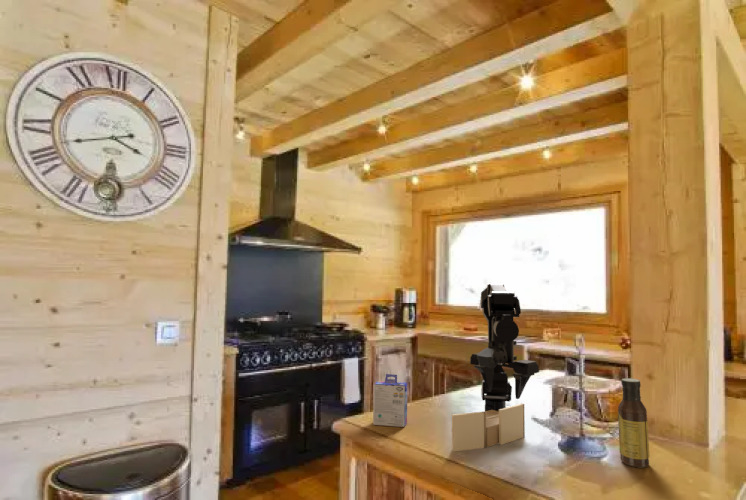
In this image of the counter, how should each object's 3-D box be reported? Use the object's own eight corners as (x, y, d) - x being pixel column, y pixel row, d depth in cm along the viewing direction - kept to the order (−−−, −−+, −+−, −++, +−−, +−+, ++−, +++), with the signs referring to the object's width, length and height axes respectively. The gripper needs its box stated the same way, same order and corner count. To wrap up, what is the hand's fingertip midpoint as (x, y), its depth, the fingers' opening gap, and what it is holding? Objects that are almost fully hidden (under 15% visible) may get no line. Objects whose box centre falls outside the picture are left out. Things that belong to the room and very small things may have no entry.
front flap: (451, 450, 117) (451, 414, 117) (484, 446, 120) (484, 411, 120) (453, 451, 116) (453, 415, 116) (486, 447, 119) (486, 412, 119)
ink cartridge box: (407, 422, 140) (408, 374, 141) (405, 427, 134) (405, 378, 135) (376, 420, 142) (376, 372, 143) (372, 425, 136) (373, 376, 137)
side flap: (522, 435, 128) (521, 403, 129) (525, 436, 128) (525, 404, 128) (498, 443, 122) (498, 409, 122) (501, 444, 121) (501, 410, 122)
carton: (491, 426, 136) (491, 408, 137) (520, 435, 128) (520, 416, 129) (458, 436, 127) (458, 417, 128) (487, 446, 119) (487, 426, 120)
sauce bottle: (630, 456, 114) (628, 375, 115) (655, 466, 108) (652, 380, 109) (613, 460, 111) (611, 378, 112) (638, 470, 105) (635, 383, 107)
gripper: (456, 335, 127) (457, 392, 126) (513, 343, 112) (514, 407, 111) (482, 333, 134) (483, 386, 133) (539, 340, 119) (540, 400, 118)
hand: (503, 395), depth 123 cm, fingers open, 9 cm apart
